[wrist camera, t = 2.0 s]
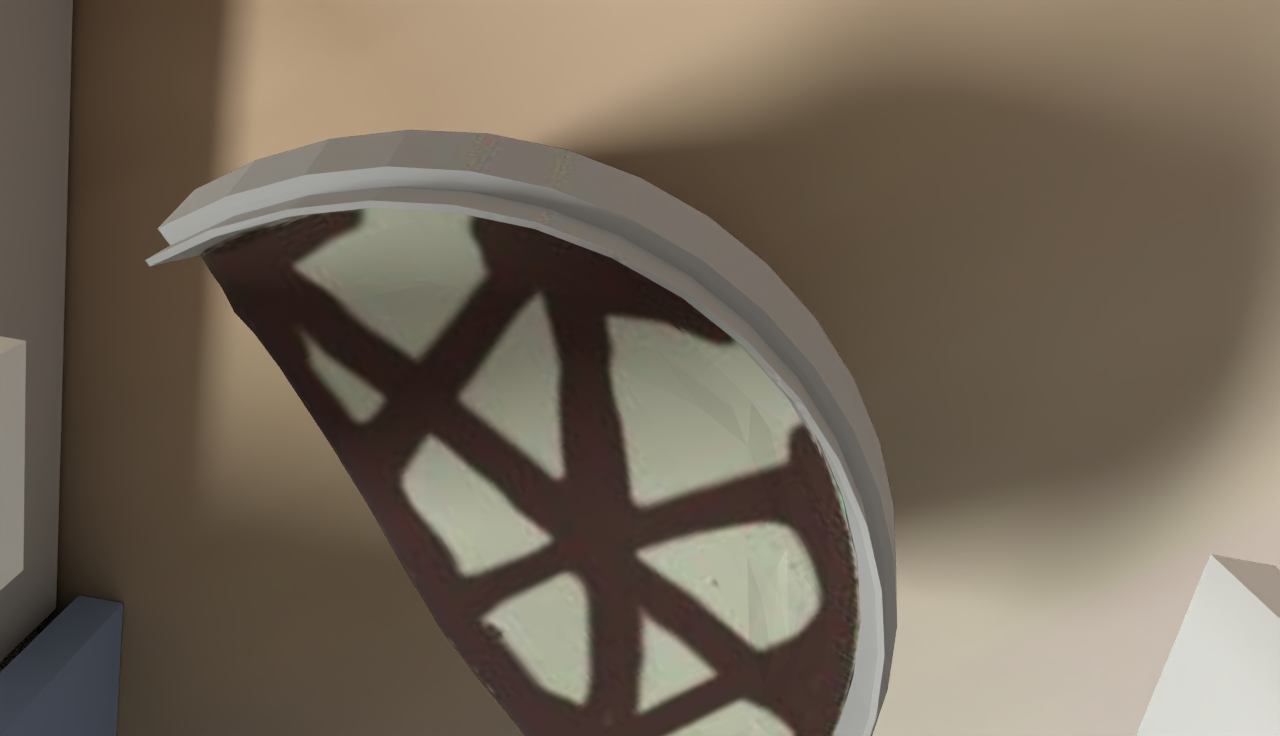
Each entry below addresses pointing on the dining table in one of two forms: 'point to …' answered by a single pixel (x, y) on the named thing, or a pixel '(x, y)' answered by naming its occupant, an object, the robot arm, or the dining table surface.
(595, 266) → the food container
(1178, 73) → the dining table surface
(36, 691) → the open box
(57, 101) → the tan boxy piece
